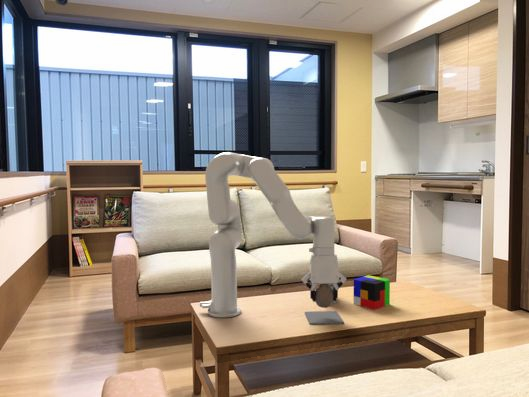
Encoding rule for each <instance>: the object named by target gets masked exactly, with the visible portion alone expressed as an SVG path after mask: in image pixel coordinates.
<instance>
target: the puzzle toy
mask: <svg viewBox="0 0 529 397" xmlns="http://www.w3.org/2000/svg"><path fill="white" fill-rule="evenodd" d="M390 284H391V281H390V279H388V278H384V277H379V276H374V275H365V276H360V277H357V278H354V279H353V305H356V306H360V307H362V308H363V307H364V308H367V309H371V310H374V311H377V310H378V309H382V308H383V307H386V306H388V305H390V302H391V301H390V296H391V295H390V294H391V293H390V291H391V289H390V288H391V287H390Z"/></svg>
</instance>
